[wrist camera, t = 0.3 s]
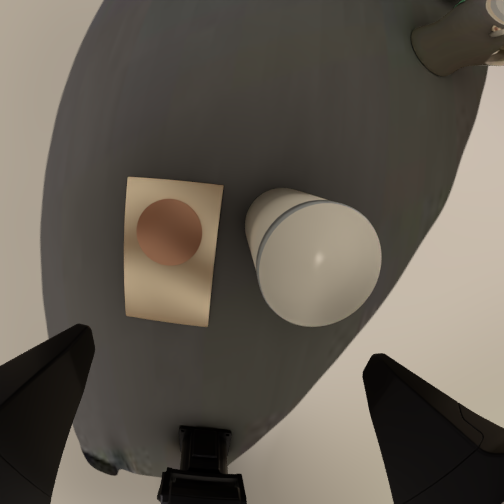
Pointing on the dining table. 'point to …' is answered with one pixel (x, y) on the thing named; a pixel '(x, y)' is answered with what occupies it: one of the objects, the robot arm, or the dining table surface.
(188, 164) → the dining table surface
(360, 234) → the white lidded jar
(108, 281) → the dining table surface
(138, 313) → the mat
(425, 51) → the beer glass
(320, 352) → the dining table surface
